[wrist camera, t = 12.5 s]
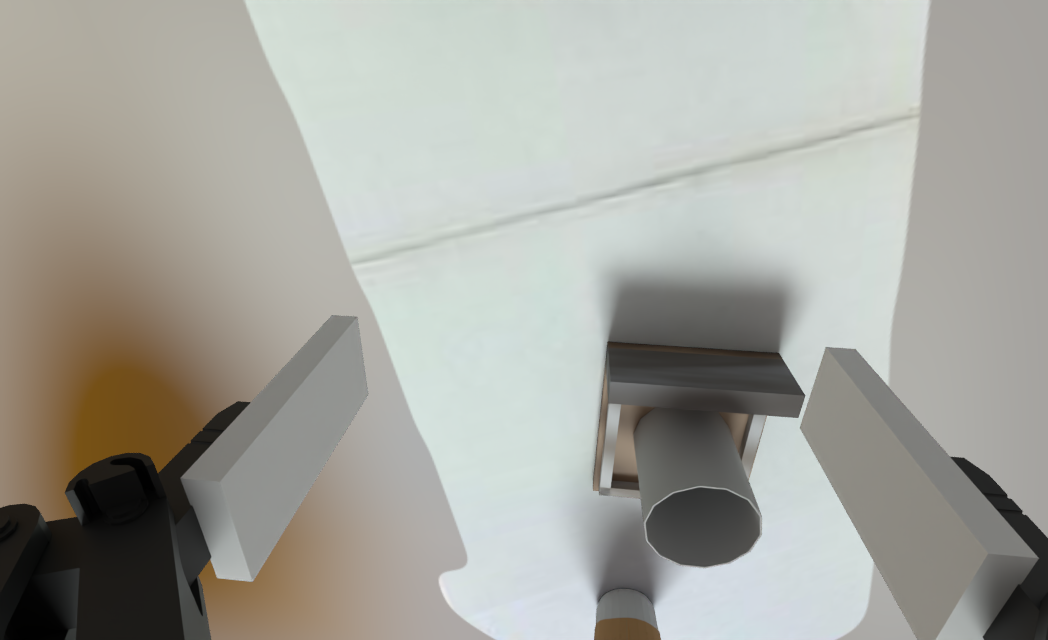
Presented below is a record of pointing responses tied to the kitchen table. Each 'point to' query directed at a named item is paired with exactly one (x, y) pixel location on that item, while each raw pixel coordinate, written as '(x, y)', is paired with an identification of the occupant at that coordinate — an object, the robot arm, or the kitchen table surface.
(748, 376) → the brown flat tray-like piece
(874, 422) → the robot arm
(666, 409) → the cup
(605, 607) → the coffee cup
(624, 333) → the kitchen table surface
